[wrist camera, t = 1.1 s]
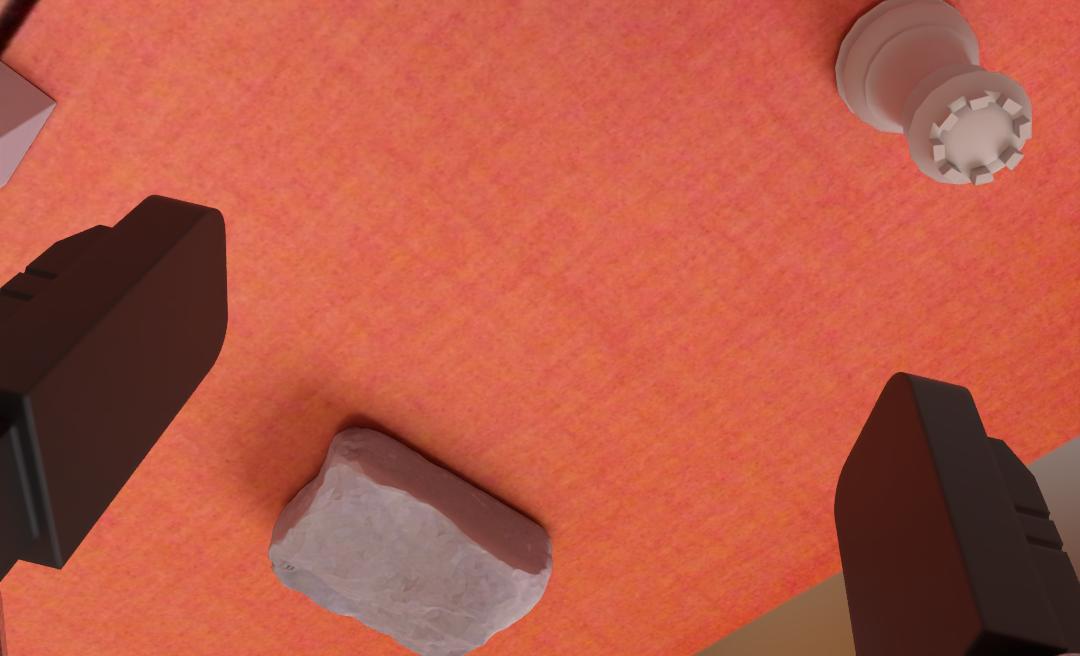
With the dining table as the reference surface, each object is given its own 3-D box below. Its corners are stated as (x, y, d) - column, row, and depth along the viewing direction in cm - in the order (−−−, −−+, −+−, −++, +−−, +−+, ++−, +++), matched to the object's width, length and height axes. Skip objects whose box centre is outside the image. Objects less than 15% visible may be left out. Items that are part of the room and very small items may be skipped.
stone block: (465, 604, 49) (574, 529, 43) (440, 687, 46) (555, 617, 40) (275, 494, 46) (362, 396, 40) (232, 572, 43) (320, 478, 37)
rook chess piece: (995, 50, 31) (1106, 132, 24) (889, 146, 33) (965, 247, 26) (908, -40, 29) (1000, 21, 23) (804, 66, 31) (860, 150, 25)
